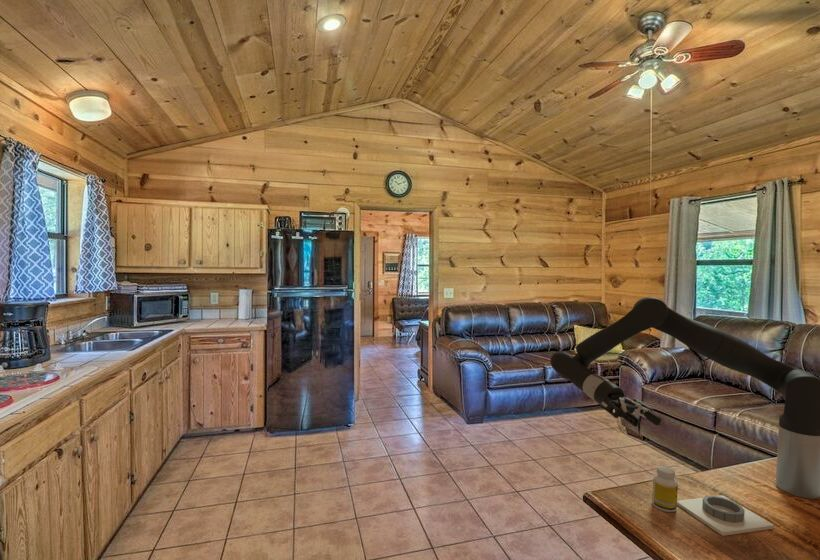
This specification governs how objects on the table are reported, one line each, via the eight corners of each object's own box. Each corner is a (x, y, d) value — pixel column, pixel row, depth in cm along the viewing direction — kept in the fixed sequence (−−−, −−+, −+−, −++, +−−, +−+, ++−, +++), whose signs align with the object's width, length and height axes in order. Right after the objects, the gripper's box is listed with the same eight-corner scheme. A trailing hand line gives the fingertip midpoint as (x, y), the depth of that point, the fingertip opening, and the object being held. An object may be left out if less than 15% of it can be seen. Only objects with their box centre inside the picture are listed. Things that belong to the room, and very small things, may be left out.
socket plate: (722, 498, 112) (723, 487, 112) (774, 528, 99) (774, 516, 99) (675, 503, 109) (676, 493, 109) (722, 535, 96) (723, 524, 96)
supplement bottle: (680, 514, 104) (682, 475, 104) (656, 511, 105) (658, 473, 105) (671, 502, 110) (673, 465, 109) (648, 499, 111) (650, 463, 110)
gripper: (589, 379, 123) (636, 411, 108) (623, 380, 129) (671, 410, 114) (581, 402, 124) (626, 436, 110) (615, 401, 130) (661, 434, 116)
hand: (649, 423), depth 112 cm, fingers open, 8 cm apart
